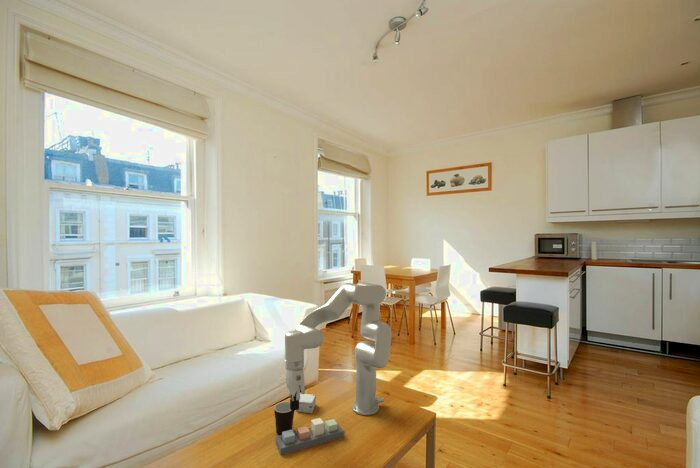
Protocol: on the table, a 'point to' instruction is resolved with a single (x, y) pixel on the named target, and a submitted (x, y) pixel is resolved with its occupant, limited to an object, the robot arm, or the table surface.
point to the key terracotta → (303, 433)
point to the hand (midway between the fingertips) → (294, 409)
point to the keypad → (308, 440)
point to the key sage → (330, 425)
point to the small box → (306, 403)
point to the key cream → (317, 426)
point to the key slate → (288, 437)
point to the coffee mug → (283, 417)
